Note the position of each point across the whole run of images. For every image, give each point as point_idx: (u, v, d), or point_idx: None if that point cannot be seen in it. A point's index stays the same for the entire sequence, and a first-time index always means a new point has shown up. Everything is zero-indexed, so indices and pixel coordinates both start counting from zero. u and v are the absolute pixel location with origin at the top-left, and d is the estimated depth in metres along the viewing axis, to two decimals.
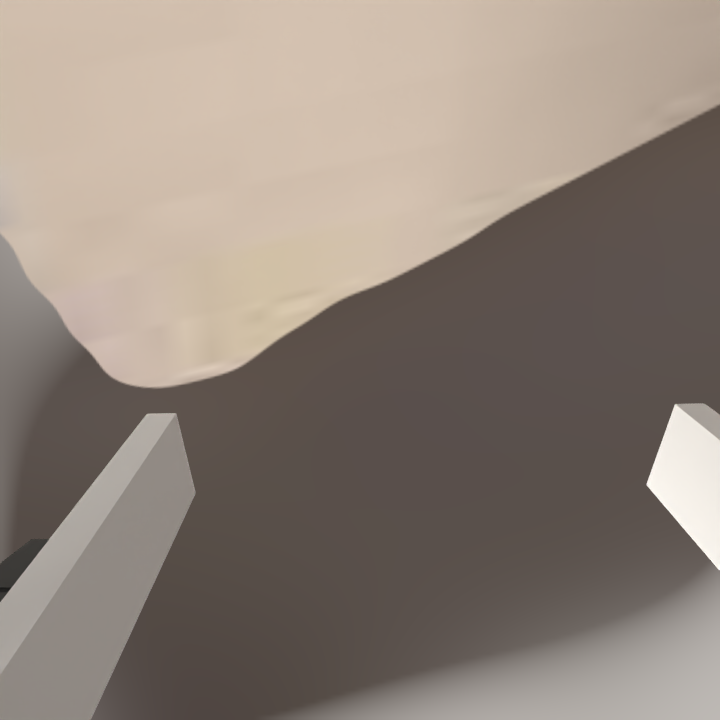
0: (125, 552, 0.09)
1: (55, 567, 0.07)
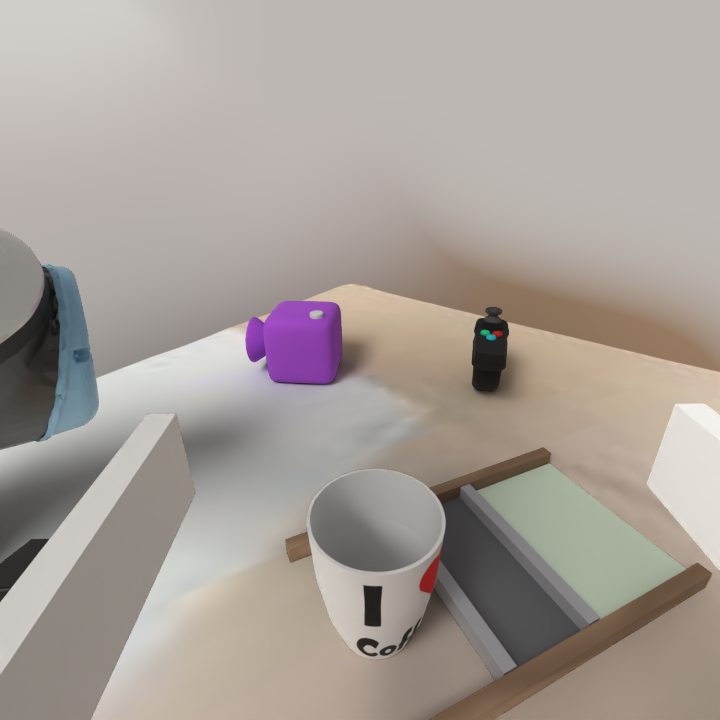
0: (125, 552, 0.09)
1: (55, 567, 0.07)
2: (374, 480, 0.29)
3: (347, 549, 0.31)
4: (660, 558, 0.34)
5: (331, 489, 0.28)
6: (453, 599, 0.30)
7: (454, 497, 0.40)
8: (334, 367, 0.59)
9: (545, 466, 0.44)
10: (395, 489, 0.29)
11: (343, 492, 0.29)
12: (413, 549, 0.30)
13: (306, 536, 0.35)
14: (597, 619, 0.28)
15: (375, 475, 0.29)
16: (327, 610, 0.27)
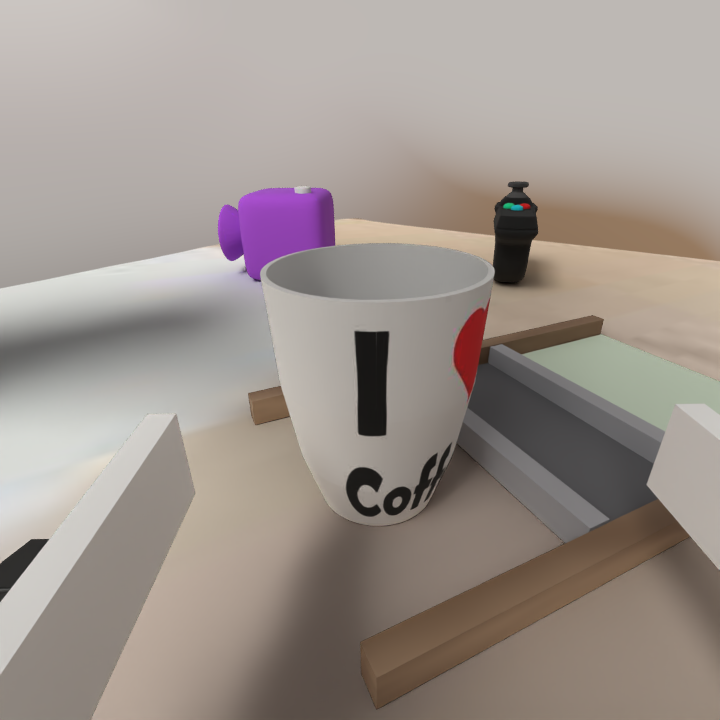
0: (125, 552, 0.09)
1: (55, 567, 0.07)
2: (374, 263, 0.19)
3: None
4: None
5: (307, 263, 0.18)
6: (495, 447, 0.20)
7: (481, 362, 0.30)
8: None
9: (596, 336, 0.33)
10: (406, 275, 0.19)
11: (326, 277, 0.19)
12: None
13: (278, 390, 0.25)
14: None
15: (375, 254, 0.19)
16: (299, 440, 0.17)
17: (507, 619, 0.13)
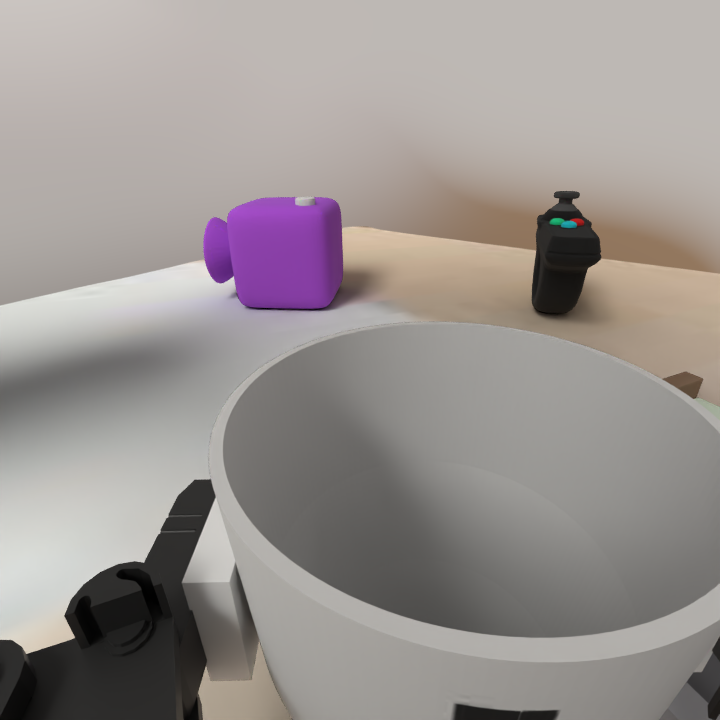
0: None
1: None
2: (427, 355, 0.11)
3: (355, 539, 0.12)
4: None
5: (312, 366, 0.10)
6: None
7: None
8: (331, 283, 0.40)
9: None
10: (484, 376, 0.11)
11: (346, 383, 0.11)
12: (526, 537, 0.12)
13: None
14: None
15: (430, 340, 0.11)
16: None
17: None
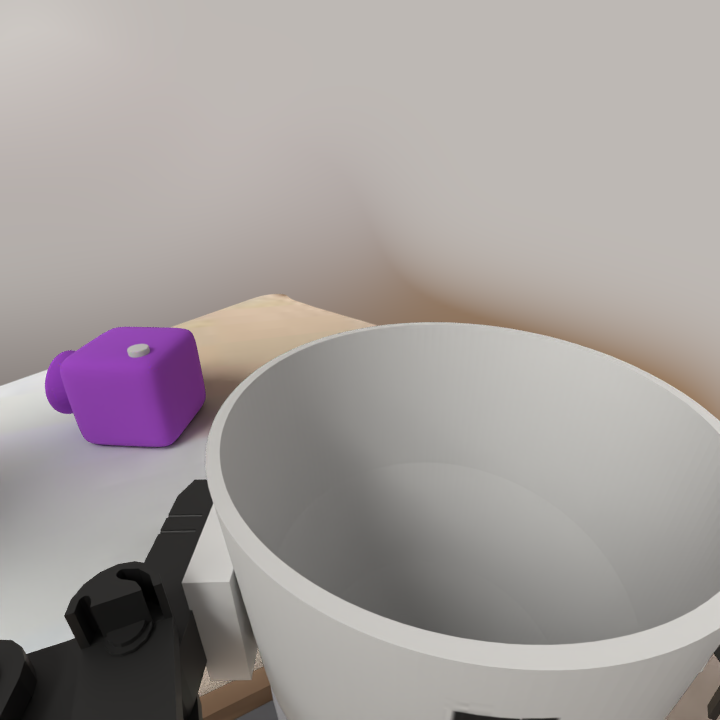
0: None
1: None
2: (427, 355, 0.11)
3: (355, 540, 0.12)
4: None
5: (310, 367, 0.10)
6: None
7: (263, 701, 0.22)
8: (173, 424, 0.41)
9: None
10: (483, 378, 0.11)
11: (344, 384, 0.11)
12: (526, 539, 0.12)
13: None
14: None
15: (429, 341, 0.11)
16: None
17: None
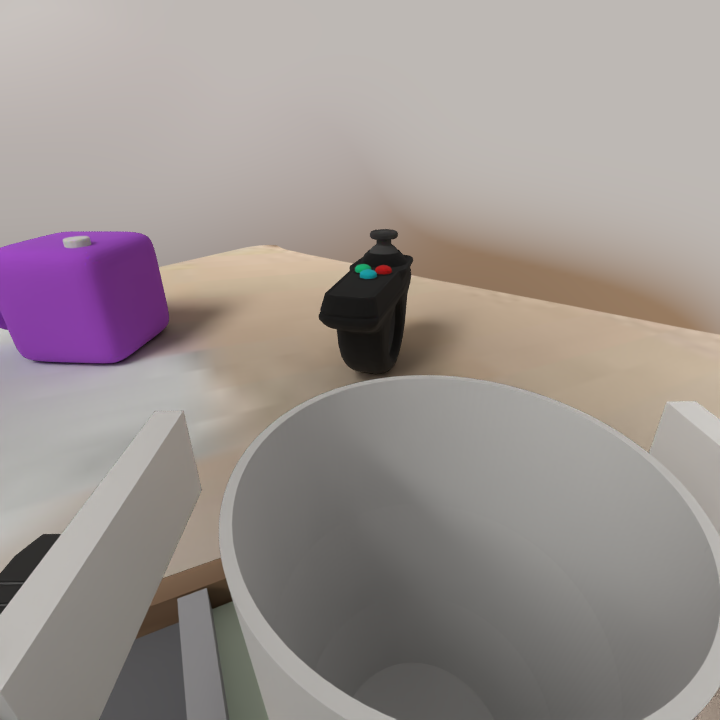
0: (135, 547, 0.09)
1: (68, 561, 0.07)
2: (424, 406, 0.12)
3: (352, 578, 0.13)
4: None
5: (313, 422, 0.10)
6: None
7: (169, 622, 0.16)
8: (121, 335, 0.35)
9: None
10: (478, 428, 0.12)
11: (345, 434, 0.11)
12: (516, 581, 0.12)
13: None
14: None
15: (427, 393, 0.11)
16: None
17: None
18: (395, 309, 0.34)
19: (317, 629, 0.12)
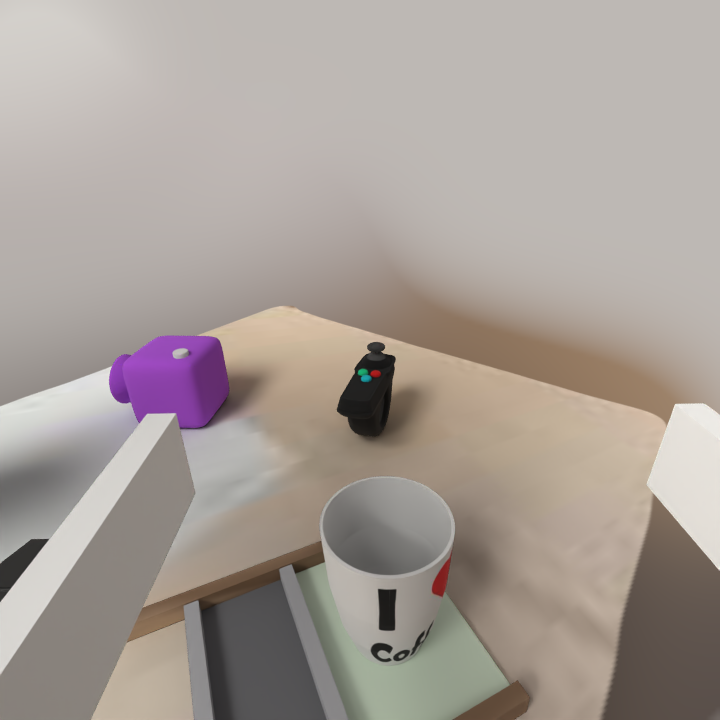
0: (125, 552, 0.09)
1: (55, 567, 0.07)
2: (383, 487, 0.30)
3: (357, 557, 0.31)
4: (484, 668, 0.28)
5: (341, 497, 0.29)
6: None
7: (274, 580, 0.34)
8: (205, 410, 0.53)
9: None
10: (403, 496, 0.30)
11: (353, 500, 0.30)
12: (422, 555, 0.30)
13: None
14: None
15: (383, 483, 0.30)
16: (340, 617, 0.27)
17: None
18: None
19: None
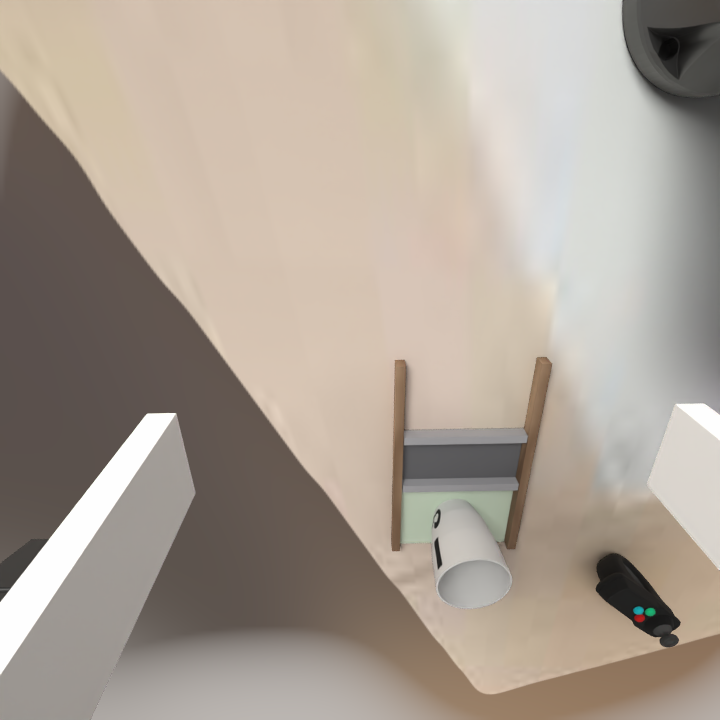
0: (125, 552, 0.09)
1: (55, 567, 0.07)
2: (502, 586, 0.48)
3: None
4: (413, 538, 0.57)
5: None
6: (449, 437, 0.49)
7: (517, 474, 0.53)
8: None
9: (503, 537, 0.57)
10: (492, 589, 0.49)
11: (505, 569, 0.47)
12: (467, 561, 0.53)
13: (545, 377, 0.45)
14: (402, 490, 0.52)
15: (503, 589, 0.48)
16: (459, 515, 0.51)
17: None
18: None
19: None
